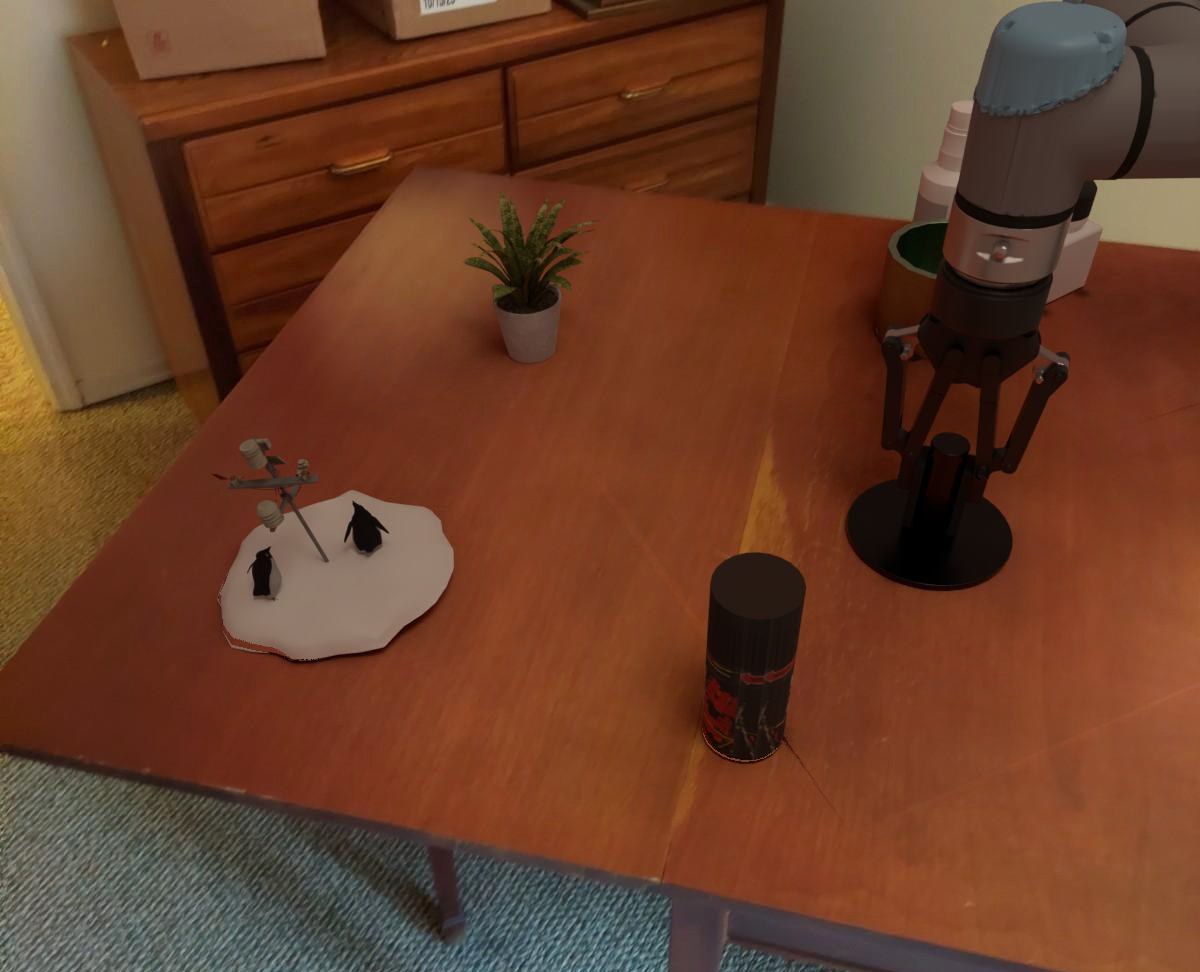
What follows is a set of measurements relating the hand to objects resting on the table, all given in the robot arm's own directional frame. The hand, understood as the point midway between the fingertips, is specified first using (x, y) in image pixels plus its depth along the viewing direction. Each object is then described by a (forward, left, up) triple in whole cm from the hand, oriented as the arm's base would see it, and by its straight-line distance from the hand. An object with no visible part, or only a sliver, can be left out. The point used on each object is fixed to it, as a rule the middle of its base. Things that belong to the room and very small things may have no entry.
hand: (930, 520), depth 89 cm
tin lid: (0, 0, -1) cm, 1 cm away
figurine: (+17, +47, -2) cm, 50 cm away
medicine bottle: (+29, -36, -2) cm, 46 cm away
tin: (+26, -20, -2) cm, 33 cm away
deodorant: (-11, +24, -2) cm, 27 cm away
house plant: (+41, +20, -2) cm, 46 cm away
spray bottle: (+37, -28, -2) cm, 46 cm away
